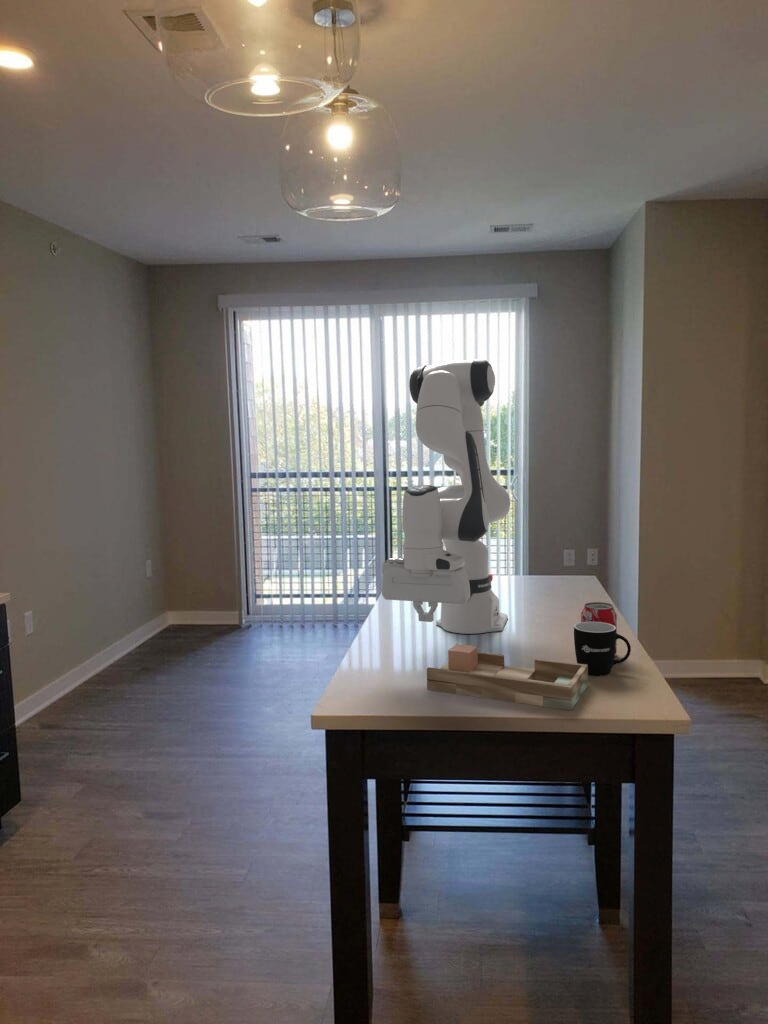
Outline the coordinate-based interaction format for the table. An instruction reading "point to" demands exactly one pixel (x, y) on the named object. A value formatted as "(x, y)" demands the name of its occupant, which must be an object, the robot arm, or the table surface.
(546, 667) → the trap box
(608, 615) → the beverage can
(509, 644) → the table surface
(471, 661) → the block
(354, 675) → the table surface
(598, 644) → the mug
